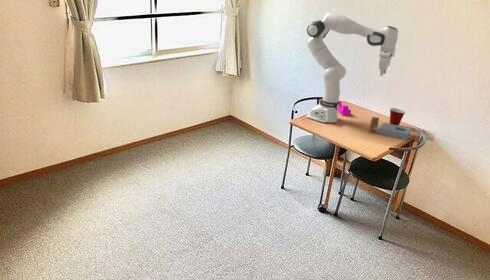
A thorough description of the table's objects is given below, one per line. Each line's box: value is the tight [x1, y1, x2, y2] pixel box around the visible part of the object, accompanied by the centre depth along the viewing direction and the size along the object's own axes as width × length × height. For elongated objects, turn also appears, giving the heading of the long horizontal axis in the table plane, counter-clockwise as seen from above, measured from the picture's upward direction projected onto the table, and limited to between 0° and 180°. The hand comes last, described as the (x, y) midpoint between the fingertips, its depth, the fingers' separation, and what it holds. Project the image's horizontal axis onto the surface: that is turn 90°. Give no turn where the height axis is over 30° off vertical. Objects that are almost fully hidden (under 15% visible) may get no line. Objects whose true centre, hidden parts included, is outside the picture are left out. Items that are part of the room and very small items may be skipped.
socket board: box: [378, 122, 412, 141], centre depth 260 cm, size 18×14×4 cm
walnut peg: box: [368, 116, 380, 134], centre depth 258 cm, size 4×4×10 cm
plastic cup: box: [389, 107, 407, 126], centre depth 274 cm, size 11×11×12 cm
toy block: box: [337, 100, 352, 117], centre depth 296 cm, size 15×6×8 cm, turn 9°
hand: (382, 74), depth 252 cm, fingers open, 8 cm apart
